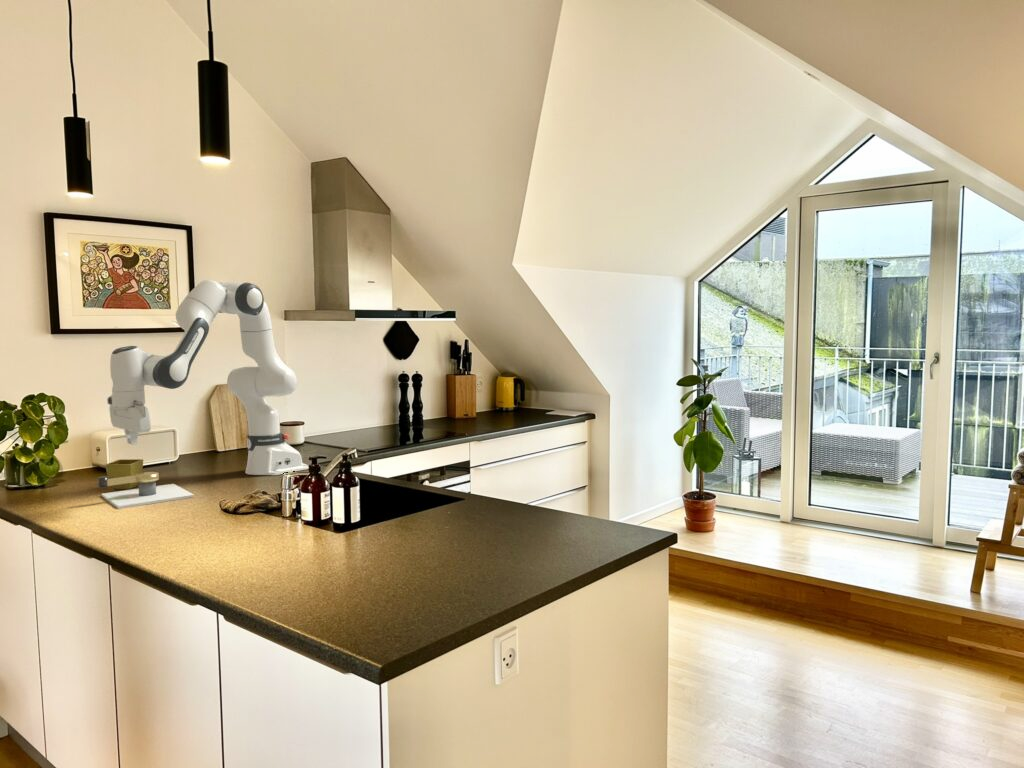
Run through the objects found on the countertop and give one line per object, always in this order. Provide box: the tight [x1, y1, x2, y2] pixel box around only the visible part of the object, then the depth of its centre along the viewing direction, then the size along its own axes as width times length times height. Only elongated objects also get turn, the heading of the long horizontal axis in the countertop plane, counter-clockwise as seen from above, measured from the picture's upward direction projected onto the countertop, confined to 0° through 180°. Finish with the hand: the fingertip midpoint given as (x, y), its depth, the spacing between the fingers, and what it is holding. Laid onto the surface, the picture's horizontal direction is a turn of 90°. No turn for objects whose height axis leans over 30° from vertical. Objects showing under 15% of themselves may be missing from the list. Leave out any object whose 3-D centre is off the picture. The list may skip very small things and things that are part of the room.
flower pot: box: [104, 458, 144, 490], centre depth 255 cm, size 9×9×9 cm
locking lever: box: [97, 471, 160, 488], centre depth 239 cm, size 17×7×3 cm, turn 130°
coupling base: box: [101, 481, 195, 510], centre depth 242 cm, size 22×22×5 cm
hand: (132, 444), depth 234 cm, fingers closed
